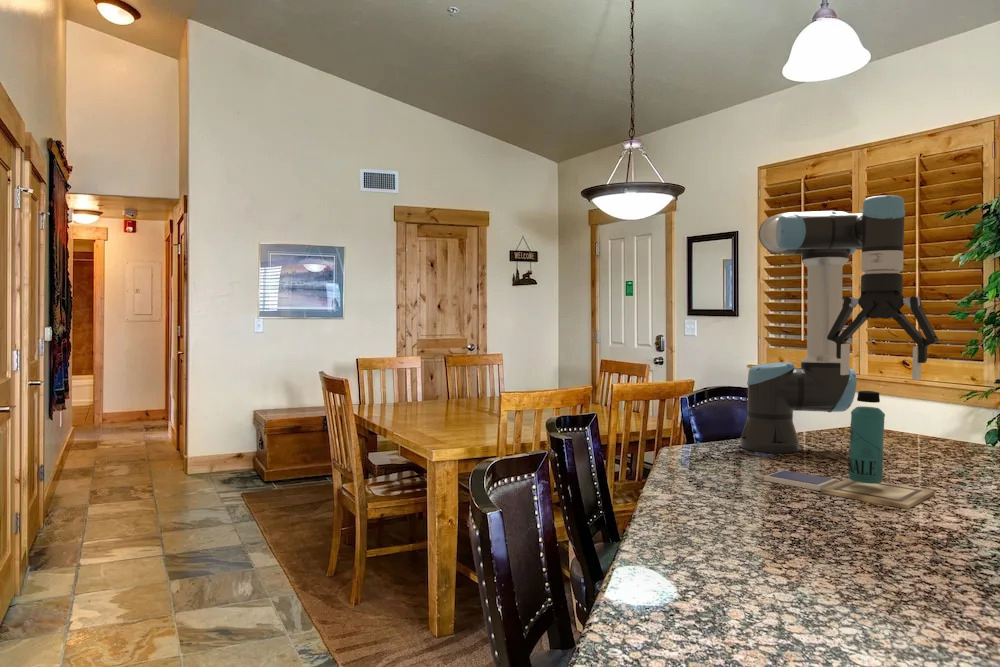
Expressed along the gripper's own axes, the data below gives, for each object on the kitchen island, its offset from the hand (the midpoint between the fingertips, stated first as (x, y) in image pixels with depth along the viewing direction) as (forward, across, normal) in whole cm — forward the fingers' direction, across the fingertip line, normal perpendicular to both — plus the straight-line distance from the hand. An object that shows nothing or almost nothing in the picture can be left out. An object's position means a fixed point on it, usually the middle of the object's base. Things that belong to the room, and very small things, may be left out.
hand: (879, 377), depth 143 cm
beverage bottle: (+23, -2, -1) cm, 23 cm away
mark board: (+24, 0, -1) cm, 24 cm away
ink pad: (+24, -14, -3) cm, 28 cm away
